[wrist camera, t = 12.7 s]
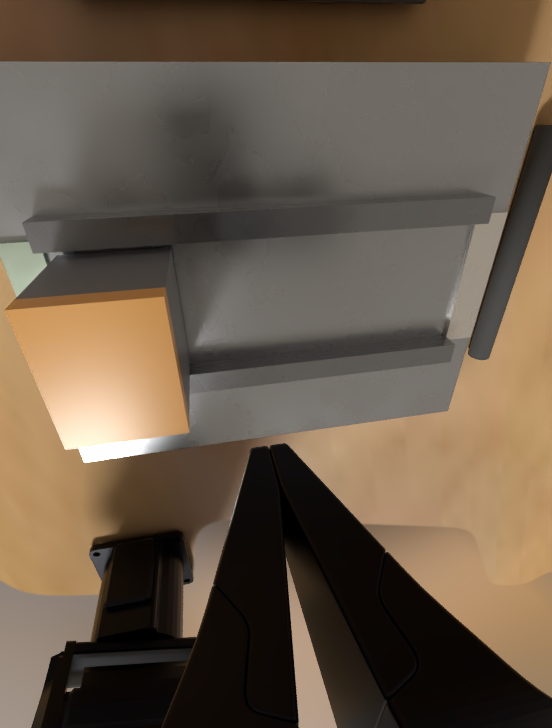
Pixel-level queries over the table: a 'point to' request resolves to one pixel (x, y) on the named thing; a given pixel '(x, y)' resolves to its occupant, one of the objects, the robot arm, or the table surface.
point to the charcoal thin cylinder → (372, 1)
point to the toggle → (107, 346)
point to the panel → (278, 219)
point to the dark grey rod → (514, 241)
